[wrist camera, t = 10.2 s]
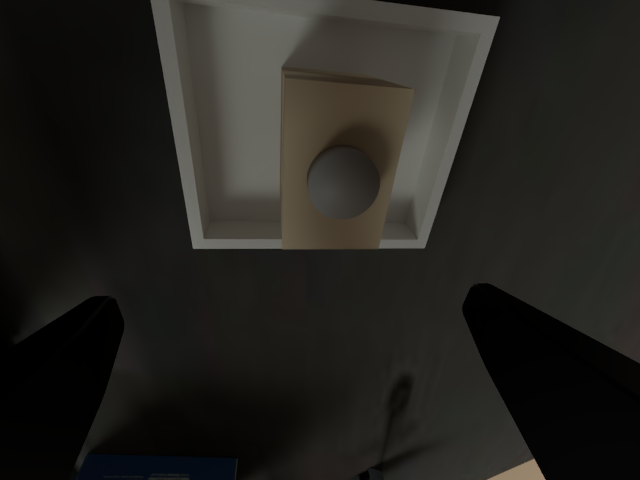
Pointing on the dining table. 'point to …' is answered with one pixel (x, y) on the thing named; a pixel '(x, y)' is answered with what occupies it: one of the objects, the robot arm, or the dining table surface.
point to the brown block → (338, 156)
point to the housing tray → (265, 101)
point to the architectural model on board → (371, 475)
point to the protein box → (156, 467)
